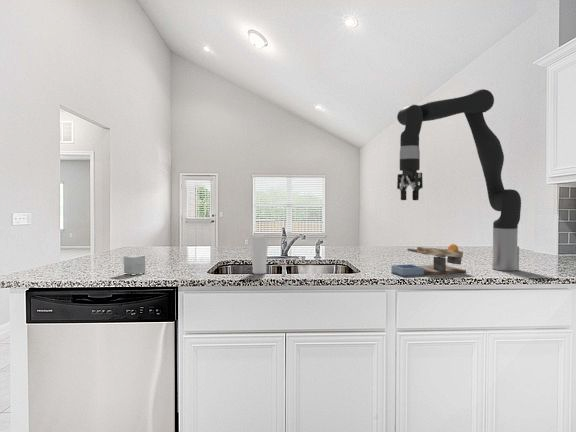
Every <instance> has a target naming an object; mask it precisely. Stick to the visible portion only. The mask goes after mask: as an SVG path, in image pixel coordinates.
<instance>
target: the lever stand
mask: <svg viewBox="0 0 576 432" xmlns="http://www.w3.org/2000/svg"><path fill="white" fill-rule="evenodd" d="M419 266H420V267H423V268H424V275H423V276H430V275H432V276H433V275H449V274H448V273H452V274H466V273H467V270H466V269H463V268H458V267H454V266H450V265H447V258H446V257H445V258H443V257H439V256H433V264H431V265H430V264H429V265H419Z"/></svg>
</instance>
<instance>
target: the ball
mask: <svg viewBox="0 0 576 432" xmlns="http://www.w3.org/2000/svg"><path fill="white" fill-rule="evenodd" d="M447 249H448V250H451V251H459V246H458V245H457V244H454V243H452V244H449V246H448V247H447Z"/></svg>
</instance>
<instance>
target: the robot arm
mask: <svg viewBox="0 0 576 432" xmlns="http://www.w3.org/2000/svg"><path fill="white" fill-rule="evenodd" d="M494 103H495V97H494V95H493V93H492V91H490V90H488V89H484V88H483V89H476V90H474V91H471V92H468V93H466V94H465V95H464V96H458V97H453V98H446V99H439V100H434V101H429V102H426V103H423V104H420V105H419V104H410V105H408V106H405V107H403V108H401V109H399V111H398V113H397V114H396V115H397V117H396V119H397V121H398V123H399V124H401V125H402V126H404V130H403V131H402V132H401V133H400V141H399V143H400V148H399V171H401V172H402V173H399V174H397V183H396V185H397V186H396V187H397V188H396V189H397V190H399V191H400V201H407V189H408V187H411V190H412V192H411V193H412V196H411V198H412V201H419V195H420V190H421V189H423V172H418V171H420V169H421V167H420V164H421V162H420V159H421V158H420V157H421V156H420V154H421V152H420V133H421V129H422V126H423V122H430V121H436V120H441V119H444V118H448V117H451V116H455V115H459V114H463V113H464V116H465V118H466V121H467V124H468V126H469V129H470V131H471V134H472V138H473V141H474V144H475V148H476V152H477V155H478V159H479V162H480V165H481V168H482V172H483V176H484V177H483V178H484V180H485V185H486V190H487V197H488V201H489V205H490V207H491V208H492V210H494V211H496V212H500V215H499V217H498V218H497V219H495V220H493V222H492V223H493V224H492V269H493V270H497V271H504V272H505V271H506V272H508V271H510V272H513V271H518V270H520V247H519V246H518V234H519V233H518V229H519V227H518V226H519V223H520V220H521V212H522V211H521V209H522V198H521V194H520V193H519V192H518V191H517V190H516V189H511V188H510V189H508V188H507V189H505V187H504V183H503V179H502V170H503V166H504V161H505V156H504V152H503V148H502V144H501V141H500V140H499V139H500V138H498V136H497V135H496V134H495V133H494V132H493V130H491V128H490V127H489V126H488V124H487V122H486V120H485V117H484V114H483V113H486V112H488V111H490V110H491V109H492V107H493V106H494Z"/></svg>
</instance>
